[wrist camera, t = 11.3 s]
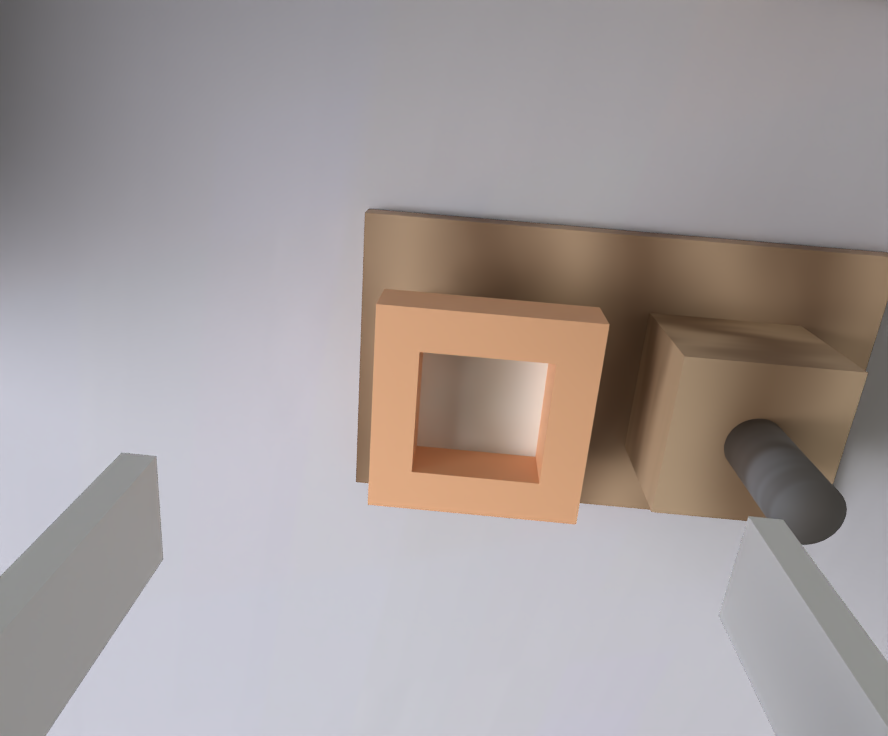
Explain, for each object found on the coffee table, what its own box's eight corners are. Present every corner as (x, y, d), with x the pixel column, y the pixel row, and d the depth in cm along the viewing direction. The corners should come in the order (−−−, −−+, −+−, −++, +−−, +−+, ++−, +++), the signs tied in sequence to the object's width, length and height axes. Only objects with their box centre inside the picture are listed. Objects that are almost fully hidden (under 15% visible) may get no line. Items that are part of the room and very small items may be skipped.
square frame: (376, 476, 32) (367, 504, 30) (384, 288, 29) (375, 304, 27) (569, 494, 32) (576, 524, 30) (599, 307, 29) (609, 324, 26)
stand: (359, 470, 37) (305, 630, 26) (369, 209, 32) (306, 265, 21) (806, 512, 37) (950, 694, 26) (886, 252, 32) (1109, 334, 20)
